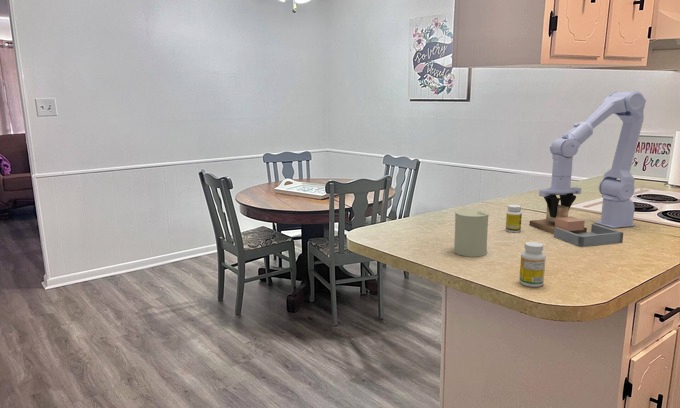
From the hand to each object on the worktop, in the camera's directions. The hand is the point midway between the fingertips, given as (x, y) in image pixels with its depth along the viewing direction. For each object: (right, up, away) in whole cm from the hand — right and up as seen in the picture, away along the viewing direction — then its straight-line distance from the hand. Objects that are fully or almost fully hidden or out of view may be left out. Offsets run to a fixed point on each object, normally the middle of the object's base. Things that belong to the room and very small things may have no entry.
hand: (558, 216), depth 162 cm
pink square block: (+1, -4, -5) cm, 6 cm away
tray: (+3, -7, -11) cm, 13 cm away
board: (0, -4, +1) cm, 4 cm away
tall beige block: (0, -1, +1) cm, 2 cm away
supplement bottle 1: (-15, -5, -1) cm, 16 cm away
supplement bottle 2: (-27, -15, -46) cm, 56 cm away
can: (-35, -10, -22) cm, 42 cm away
